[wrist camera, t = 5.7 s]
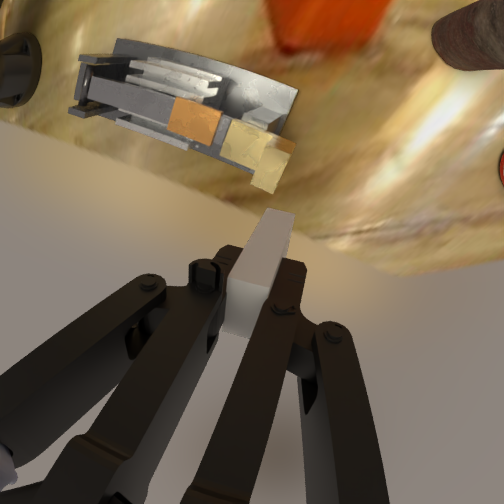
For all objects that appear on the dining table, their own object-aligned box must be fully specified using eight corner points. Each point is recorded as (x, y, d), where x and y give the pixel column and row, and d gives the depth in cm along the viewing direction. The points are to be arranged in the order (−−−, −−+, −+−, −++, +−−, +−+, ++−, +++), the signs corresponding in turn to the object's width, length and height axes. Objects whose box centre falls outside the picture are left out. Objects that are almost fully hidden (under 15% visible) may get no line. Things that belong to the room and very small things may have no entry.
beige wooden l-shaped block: (223, 152, 29) (205, 165, 25) (235, 118, 27) (219, 125, 23) (281, 177, 29) (272, 194, 25) (296, 143, 27) (290, 154, 23)
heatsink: (104, 113, 40) (56, 127, 31) (123, 38, 33) (74, 36, 25) (263, 174, 40) (242, 202, 31) (299, 90, 33) (288, 91, 25)
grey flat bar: (82, 103, 31) (74, 105, 30) (91, 64, 28) (83, 64, 27) (221, 154, 31) (216, 157, 29) (238, 107, 28) (234, 108, 27)
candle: (469, 13, 22) (561, -17, 5) (490, 66, 24) (592, 74, 8) (421, 20, 25) (496, -24, 8) (443, 75, 27) (536, 78, 11)
